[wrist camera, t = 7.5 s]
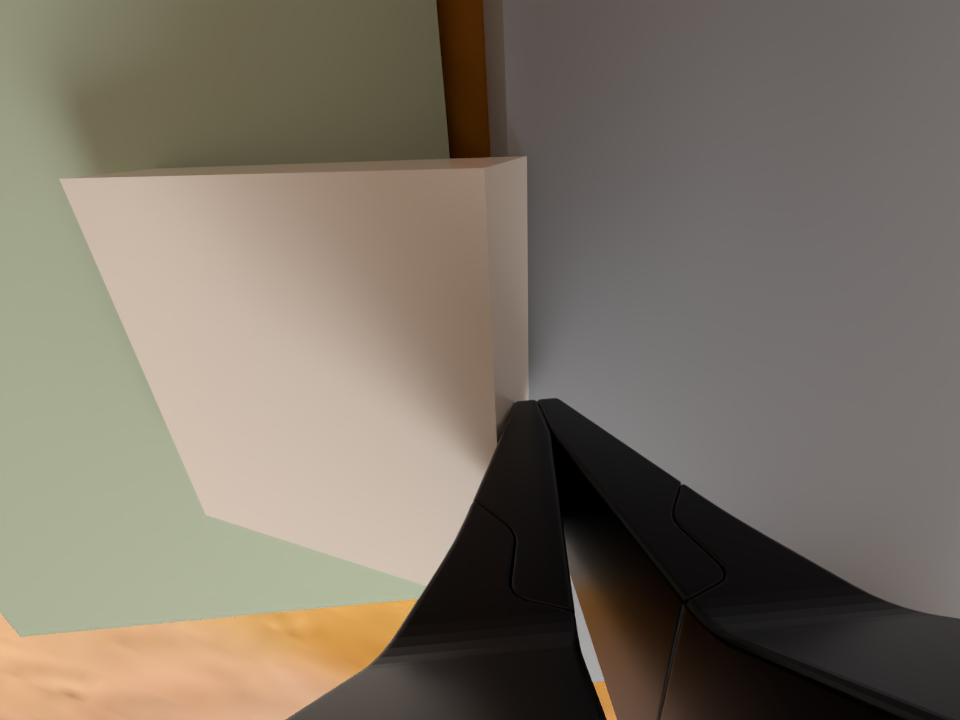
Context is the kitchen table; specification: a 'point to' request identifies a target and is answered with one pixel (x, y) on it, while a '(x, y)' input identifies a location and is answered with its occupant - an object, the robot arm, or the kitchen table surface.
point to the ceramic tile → (326, 338)
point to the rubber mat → (90, 310)
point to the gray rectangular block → (753, 259)
